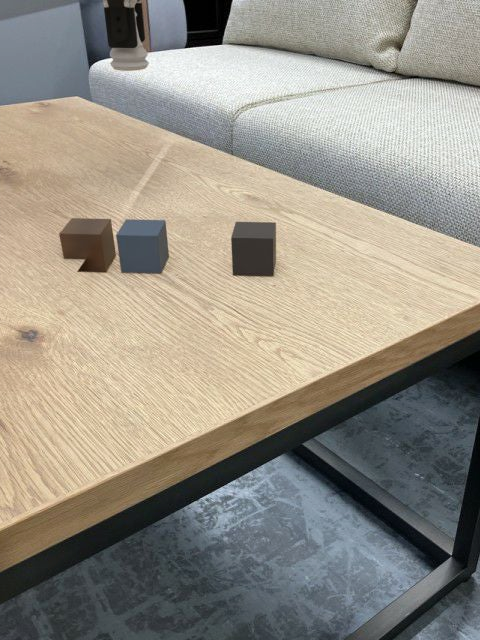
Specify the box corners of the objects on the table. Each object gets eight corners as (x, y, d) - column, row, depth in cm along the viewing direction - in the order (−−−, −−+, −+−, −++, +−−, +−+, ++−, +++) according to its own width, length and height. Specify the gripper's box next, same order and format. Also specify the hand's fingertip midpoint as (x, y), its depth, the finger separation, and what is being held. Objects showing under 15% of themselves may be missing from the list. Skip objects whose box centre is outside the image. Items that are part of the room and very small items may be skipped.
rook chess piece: (112, 64, 83) (103, -13, 78) (150, 64, 83) (143, -13, 79) (108, 71, 79) (98, -9, 75) (148, 71, 80) (140, -9, 75)
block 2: (121, 273, 69) (115, 234, 66) (130, 256, 72) (125, 219, 70) (161, 274, 68) (157, 235, 66) (169, 257, 72) (165, 219, 70)
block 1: (66, 271, 69) (58, 233, 67) (78, 254, 72) (71, 217, 70) (106, 272, 69) (100, 234, 66) (116, 255, 72) (111, 218, 70)
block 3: (232, 275, 68) (231, 237, 66) (237, 258, 71) (235, 221, 69) (273, 276, 68) (273, 238, 66) (276, 259, 71) (276, 222, 69)
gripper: (90, -152, 77) (111, 33, 87) (42, -165, 63) (74, 56, 73) (158, -151, 76) (172, 34, 87) (125, -165, 63) (146, 57, 73)
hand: (127, 42), depth 80 cm, fingers closed on rook chess piece, 3 cm apart
